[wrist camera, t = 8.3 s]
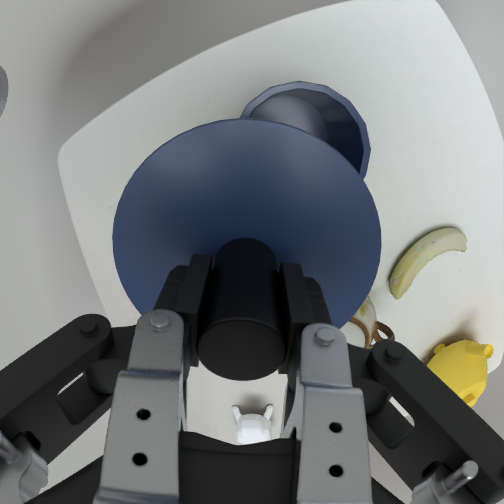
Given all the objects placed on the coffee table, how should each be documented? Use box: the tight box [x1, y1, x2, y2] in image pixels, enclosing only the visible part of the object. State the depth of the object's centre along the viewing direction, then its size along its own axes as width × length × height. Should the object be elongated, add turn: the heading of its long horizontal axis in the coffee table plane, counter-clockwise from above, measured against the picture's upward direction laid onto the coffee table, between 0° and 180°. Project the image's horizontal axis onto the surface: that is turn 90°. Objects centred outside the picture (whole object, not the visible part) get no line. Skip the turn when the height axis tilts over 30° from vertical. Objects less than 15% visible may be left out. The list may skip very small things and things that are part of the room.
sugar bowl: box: [339, 295, 395, 350], centre depth 38 cm, size 20×15×15 cm
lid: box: [112, 118, 381, 381], centre depth 11 cm, size 12×12×6 cm
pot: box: [240, 81, 371, 179], centre depth 28 cm, size 11×11×14 cm
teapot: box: [427, 339, 493, 407], centre depth 45 cm, size 20×16×14 cm
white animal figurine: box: [232, 405, 273, 445], centre depth 55 cm, size 9×8×15 cm
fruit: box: [389, 228, 467, 299], centre depth 39 cm, size 7×15×3 cm, turn 123°
